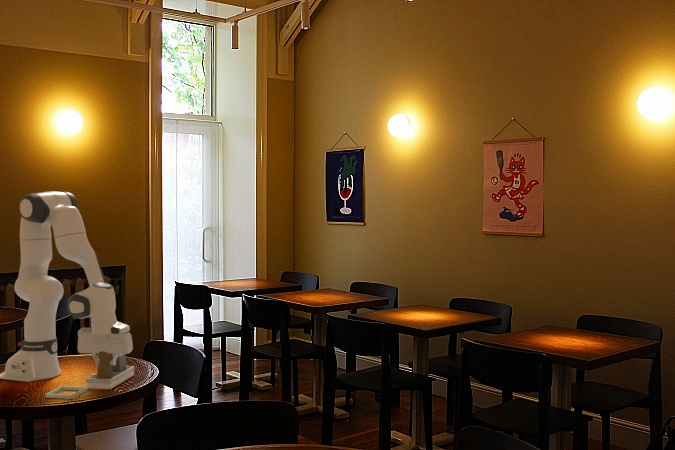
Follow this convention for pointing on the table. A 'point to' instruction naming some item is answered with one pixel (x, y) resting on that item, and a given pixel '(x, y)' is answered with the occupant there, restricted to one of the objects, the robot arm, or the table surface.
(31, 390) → the table surface
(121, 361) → the grey knobbed block
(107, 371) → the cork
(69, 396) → the tray frame
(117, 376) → the white low container
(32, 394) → the table surface
